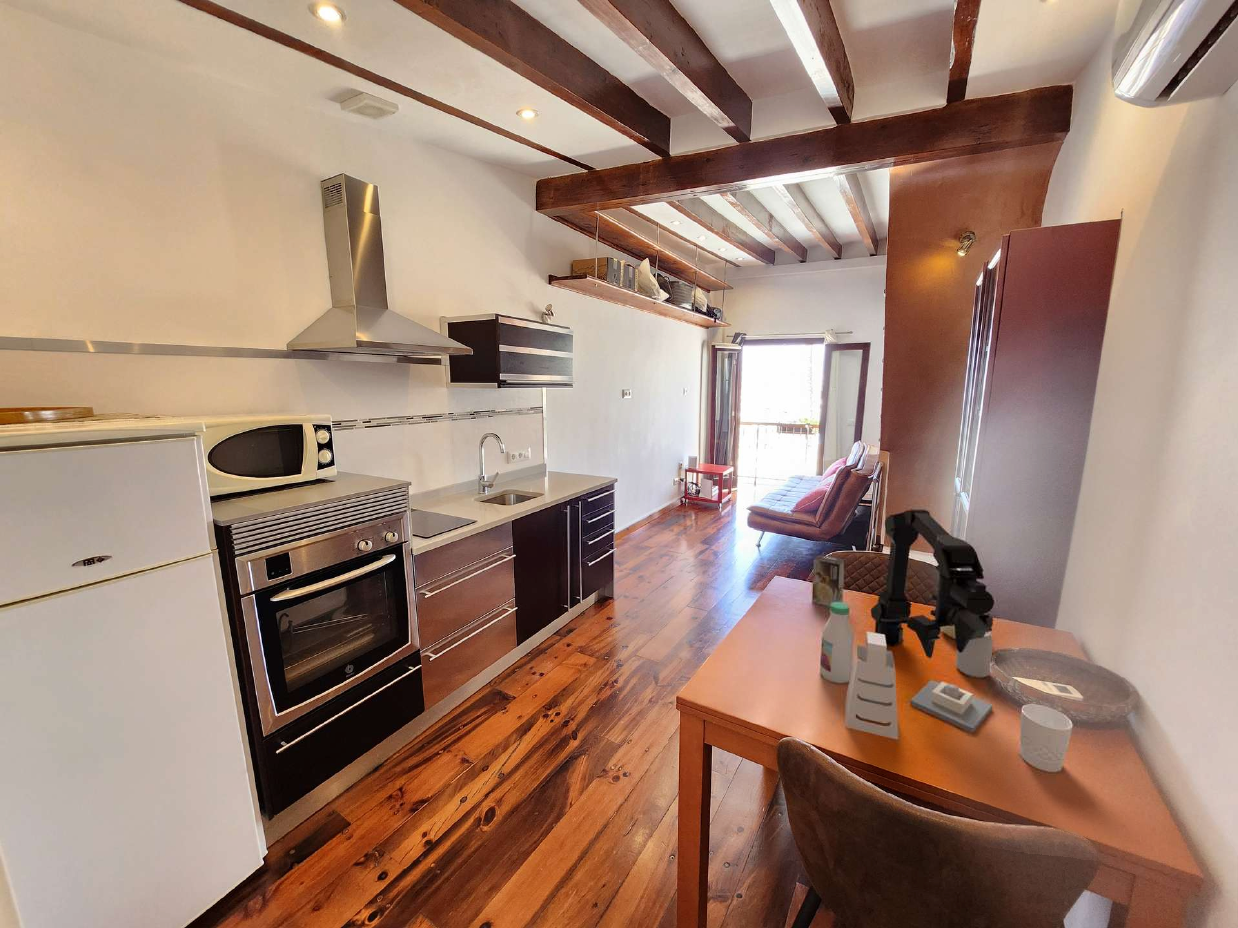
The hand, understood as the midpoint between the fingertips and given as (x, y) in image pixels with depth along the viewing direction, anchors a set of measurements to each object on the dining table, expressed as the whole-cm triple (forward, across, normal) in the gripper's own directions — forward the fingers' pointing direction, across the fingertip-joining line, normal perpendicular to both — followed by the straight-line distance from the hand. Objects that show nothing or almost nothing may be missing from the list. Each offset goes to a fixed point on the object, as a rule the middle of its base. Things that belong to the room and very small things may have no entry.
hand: (944, 654), depth 122 cm
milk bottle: (+12, -19, +14) cm, 26 cm away
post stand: (+11, -1, -4) cm, 12 cm away
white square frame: (+10, -1, -4) cm, 11 cm away
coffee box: (+13, +7, +54) cm, 56 cm away
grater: (+11, -22, -3) cm, 25 cm away
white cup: (+11, +2, -22) cm, 25 cm away
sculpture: (+12, +31, +23) cm, 40 cm away
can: (+12, +18, +6) cm, 22 cm away
